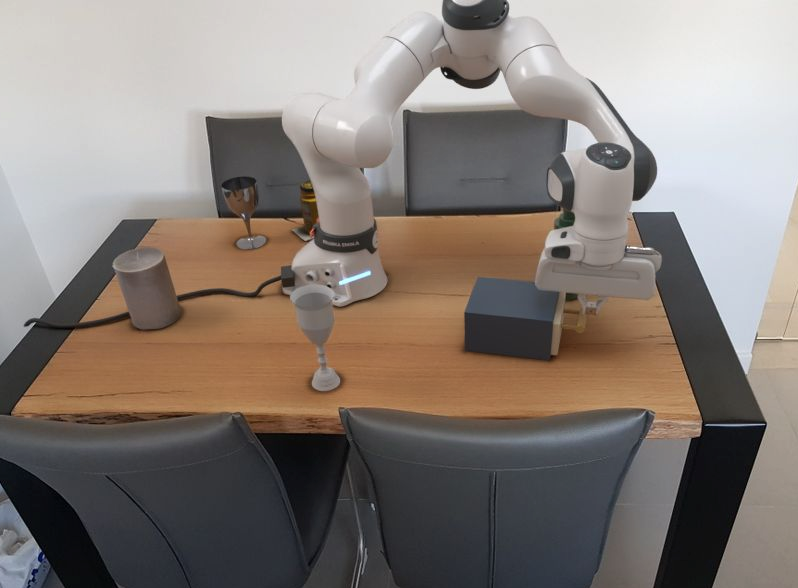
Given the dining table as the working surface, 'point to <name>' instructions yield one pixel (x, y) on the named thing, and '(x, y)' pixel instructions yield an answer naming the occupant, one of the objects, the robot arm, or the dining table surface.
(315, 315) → the chalice
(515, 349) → the cabinet
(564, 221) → the bottle
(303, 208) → the condiment
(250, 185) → the shiny metal goblet
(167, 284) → the pillar candle
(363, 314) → the dining table surface
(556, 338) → the drawer
